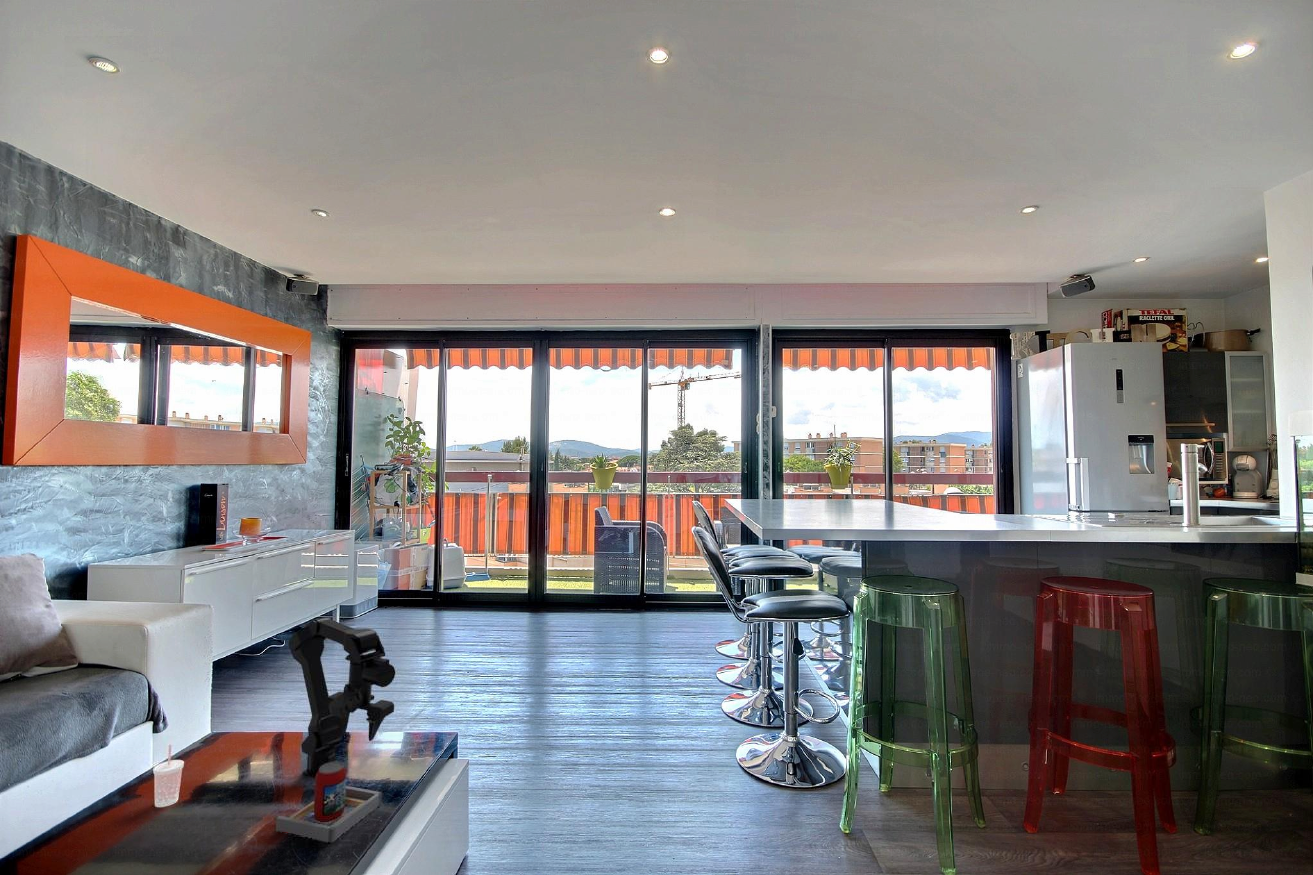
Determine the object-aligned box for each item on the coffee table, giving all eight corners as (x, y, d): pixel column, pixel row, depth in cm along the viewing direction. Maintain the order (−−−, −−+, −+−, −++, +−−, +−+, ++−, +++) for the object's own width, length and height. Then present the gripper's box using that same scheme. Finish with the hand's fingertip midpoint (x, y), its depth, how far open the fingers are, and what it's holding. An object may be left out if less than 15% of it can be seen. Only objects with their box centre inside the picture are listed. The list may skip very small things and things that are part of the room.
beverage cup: (186, 799, 155) (190, 743, 156) (158, 811, 150) (161, 753, 151) (174, 793, 158) (177, 737, 159) (146, 804, 153) (149, 747, 153)
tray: (284, 829, 145) (285, 820, 145) (325, 801, 157) (325, 793, 158) (329, 838, 142) (329, 829, 142) (367, 809, 154) (367, 800, 154)
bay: (276, 831, 143) (276, 817, 144) (330, 794, 160) (330, 782, 160) (331, 843, 140) (332, 829, 140) (381, 804, 156) (381, 792, 156)
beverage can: (331, 826, 146) (333, 775, 146) (306, 822, 147) (309, 771, 148) (350, 811, 152) (353, 761, 153) (327, 807, 154) (329, 758, 154)
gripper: (308, 683, 160) (304, 743, 160) (366, 694, 155) (362, 757, 154) (341, 669, 171) (338, 726, 170) (397, 680, 165) (393, 738, 165)
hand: (356, 737), depth 165 cm, fingers open, 9 cm apart
